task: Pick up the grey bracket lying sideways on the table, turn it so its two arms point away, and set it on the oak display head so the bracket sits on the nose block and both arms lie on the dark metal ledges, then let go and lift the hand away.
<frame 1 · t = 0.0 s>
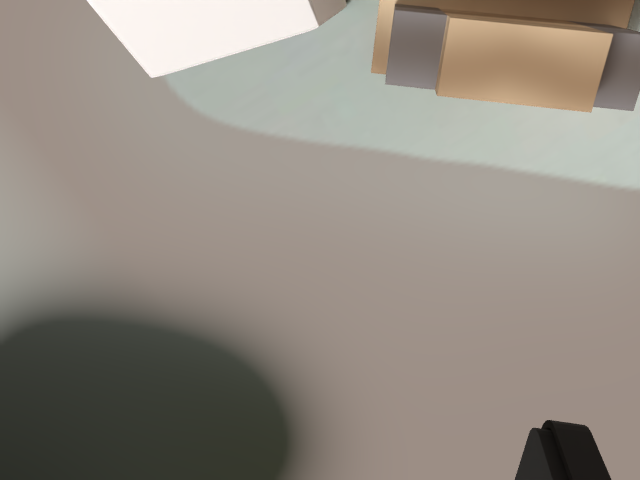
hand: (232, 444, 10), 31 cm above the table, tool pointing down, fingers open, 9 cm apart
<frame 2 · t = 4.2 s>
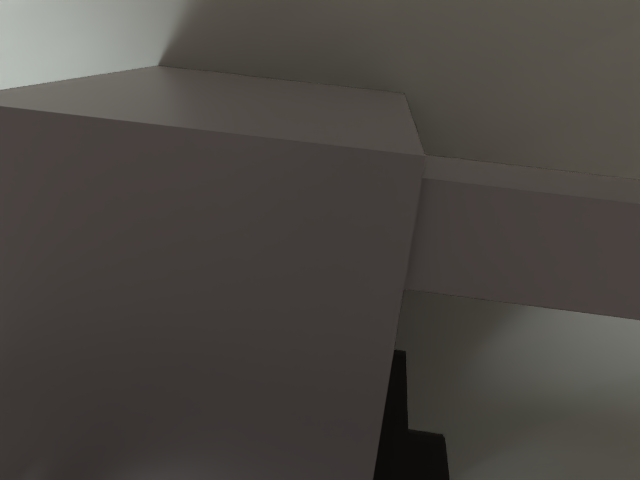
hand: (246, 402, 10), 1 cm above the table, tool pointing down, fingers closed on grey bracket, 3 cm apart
grey bracket: (258, 372, 11), on the table, tilted 5°, touching gripper
when the fingers open (6 cm above the table, at t = 11.7 s): grey bracket moves 1 cm, resting on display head.
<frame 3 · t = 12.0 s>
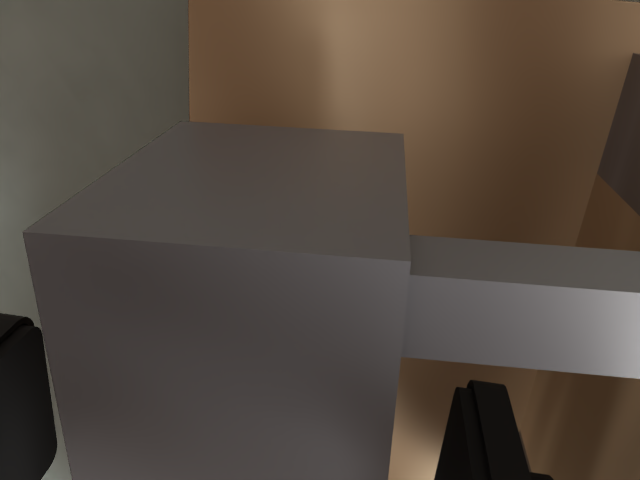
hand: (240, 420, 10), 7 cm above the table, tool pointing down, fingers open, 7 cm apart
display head: (297, 253, 16), on the table
grey bracket: (288, 377, 13), point 4 cm above the table, touching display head
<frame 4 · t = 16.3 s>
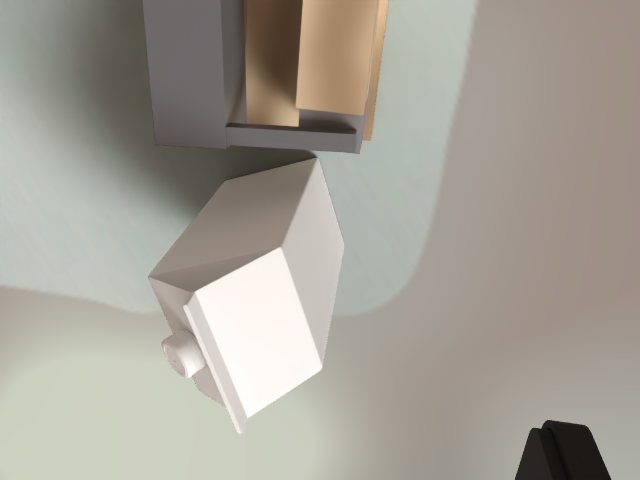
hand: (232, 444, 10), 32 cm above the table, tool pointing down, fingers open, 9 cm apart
milk carton: (286, 212, 43), on the table
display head: (221, 9, 38), on the table
grey bracket: (211, 32, 34), point 4 cm above the table, touching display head
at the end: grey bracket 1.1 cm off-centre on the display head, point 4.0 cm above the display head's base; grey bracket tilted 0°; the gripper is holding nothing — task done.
